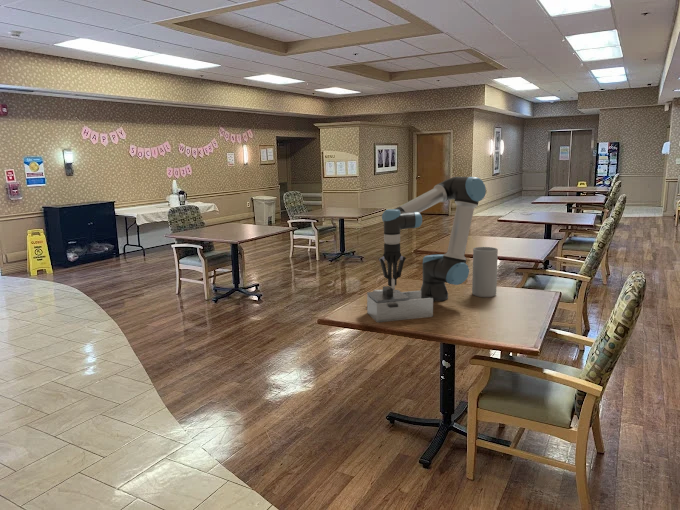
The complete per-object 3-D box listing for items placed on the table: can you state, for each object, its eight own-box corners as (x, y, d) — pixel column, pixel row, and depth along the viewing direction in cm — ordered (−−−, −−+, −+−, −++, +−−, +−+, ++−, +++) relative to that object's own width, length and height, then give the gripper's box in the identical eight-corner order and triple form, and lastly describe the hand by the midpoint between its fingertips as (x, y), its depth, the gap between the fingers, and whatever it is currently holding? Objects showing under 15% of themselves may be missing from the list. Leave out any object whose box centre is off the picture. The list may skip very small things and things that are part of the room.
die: (382, 310, 258) (392, 293, 259) (367, 301, 258) (376, 284, 260) (381, 311, 266) (390, 294, 268) (366, 302, 267) (375, 286, 268)
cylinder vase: (470, 291, 287) (472, 246, 282) (494, 291, 285) (495, 246, 280) (473, 297, 275) (474, 251, 270) (497, 297, 273) (499, 251, 268)
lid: (397, 291, 254) (397, 282, 253) (409, 299, 239) (409, 290, 238) (367, 294, 250) (367, 285, 249) (377, 302, 235) (377, 293, 234)
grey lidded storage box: (418, 306, 260) (418, 289, 258) (434, 317, 242) (434, 299, 240) (366, 312, 253) (365, 294, 252) (378, 323, 235) (378, 304, 234)
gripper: (402, 240, 245) (402, 289, 250) (376, 242, 242) (376, 291, 247) (408, 243, 238) (408, 293, 243) (381, 245, 235) (381, 295, 240)
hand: (392, 292), depth 245 cm, fingers closed
